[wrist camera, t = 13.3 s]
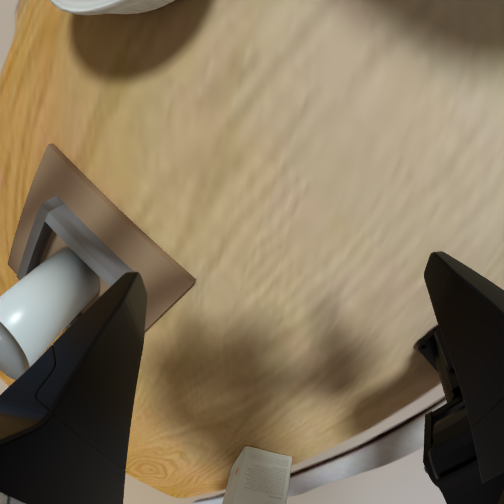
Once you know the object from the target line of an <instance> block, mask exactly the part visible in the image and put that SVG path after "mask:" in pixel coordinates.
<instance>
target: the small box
mask: <svg viewBox="0 0 504 504" xmlns="http://www.w3.org/2000/svg"><path fill="white" fill-rule="evenodd" d="M291 465H292V456H287V455H282V454H278V453H273V452H269V451H265V450H261V449H257V448H253V447H249V446H245V447H244V449H243V450H242V452H241V453H240V455H239V456H238V458H237V459H236V461H235V462H234V464H233V466H232V468H231V472H230V476H229V480H228V484H227V488H226V492H225V496H224V499H223V503H222V504H286V500H287V493H288V486H289V479H290V473H291Z"/></svg>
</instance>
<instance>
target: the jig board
mask: <svg viewBox="0 0 504 504" xmlns="http://www.w3.org/2000/svg"><path fill="white" fill-rule="evenodd" d="M65 246H69V247H70V248H71V249H72V250H73V251H74V252H75V253H76V254H77V255H78V256H79V257H80V258H81V259H82V260H83V261H84V262H85V263H86V264H87V265H88V266H89V267H90V268H91V269H92V270H93V271H94V272H95V273H96V274H97V275H98V276H99V278H100V289H99V291H98V293H97V294H96V296H95V297H94V298H93V299H92V300H91V301H90V302H89V303H88V304H87V305H86V306H85V307H84V308H83V309H82V310H81V311H80V312H79V313H78V315H77V316H76V317H75V318H74V319H73V320H72V321H71V322H70V323H69V324H68V325H67V326H66V328H67V329H68V328H69V327H70V326H71V325H72V324H73V323H74V322H75V321H76V320H77V319H78V318H79V317H80V316H81V315H82V314H83V313H84V312H85V311H86V310H87V309H88V308H89V307H90V306H91V305H92V304H93V303H94V302H95V301H96V300H97V299H98V298H99V297H100V296H101V295H102V294H103V293H104V292H105V291H106V290H108V289H109V288H110V287H111V286H112V285H113V284H114V283H115V282H116V281H117V280H118V279H119V278H120V277H121V276H122V275H123V274H125V273H126V272H136V271H137V272H139V273H140V274H141V277H142V280H143V283H144V285H145V288H146V291H147V309H146V321H145V331H146V330H147V329H148V328H149V327H150V326H151V325H152V324H153V323H154V322H155V321H156V320H157V319H158V318H159V317H160V316H161V315H162V314H163V313H164V312H165V311H166V310H167V309H168V308H169V307H170V306H171V305H172V304H173V303H174V302H175V301H176V300H177V299H178V298H179V297H180V296H181V295H182V294H183V293H184V292H186V291H187V290H188V289H189V288H190V287H191V286H192V285H193V284H194V282H195V281H196V279H195V278H194V277H193V276H191V275H190V274H189V273H188V272H187V271H186V270H185V269H184V268H182V267H181V266H180V265H179V264H178V263H177V262H176V261H175V260H173V259H172V258H171V257H170V256H169V255H168V254H167V253H166V252H165V251H163V250H162V249H161V248H160V247H159V246H158V245H157V244H156V243H155V242H154V241H152V240H151V239H150V238H149V237H148V236H147V235H146V234H145V233H144V232H143V231H142V230H141V229H140V228H138V227H137V226H136V225H135V224H134V223H133V222H132V221H131V220H130V219H129V218H128V217H127V216H126V215H125V214H124V213H123V212H121V211H120V210H119V209H118V208H117V207H116V206H115V205H114V204H113V203H112V202H111V201H110V200H109V199H108V198H107V197H106V196H105V195H104V194H103V193H102V192H101V191H100V190H99V189H98V188H97V187H96V186H95V185H94V184H93V183H92V182H91V181H90V180H89V179H88V178H87V177H86V176H85V175H84V174H83V173H82V172H81V171H80V170H79V169H78V168H77V167H76V166H75V165H74V164H73V163H72V162H71V161H70V160H69V159H68V158H67V157H66V156H65V155H64V154H63V153H62V152H61V151H60V150H59V149H58V148H57V147H56V146H55V145H54V144H53V143H52V144H49V145H48V146H47V149H46V151H45V153H44V155H43V158H42V160H41V162H40V165H39V167H38V170H37V172H36V175H35V177H34V180H33V183H32V185H31V188H30V191H29V194H28V196H27V199H26V202H25V205H24V208H23V211H22V214H21V217H20V220H19V224H18V227H17V230H16V234H15V237H14V241H13V245H12V248H11V252H10V256H9V260H8V265H9V266H10V268H11V269H12V270H13V271H14V272H15V273H16V274H17V278H18V279H19V280H21V279H22V278H24V277H25V276H26V275H27V274H29V273H30V272H31V271H32V270H34V269H35V268H36V267H37V266H39V265H40V264H41V263H43V262H44V261H45V260H46V259H48V258H49V257H50V256H52V255H53V254H54V253H56V252H57V251H58V250H60V249H61V248H63V247H65Z"/></svg>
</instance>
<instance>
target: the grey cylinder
mask: <svg viewBox="0 0 504 504" xmlns="http://www.w3.org/2000/svg"><path fill="white" fill-rule="evenodd" d="M99 289H100V278H99V276H98V275H97V274H96V273H95V272H94V271H93V270H92V269H91V268H90V267H89V266H88V265H87V264H86V263H85V262H84V261H83V260H82V259H81V258H80V257H79V256H78V255H77V254H76V253H75V252H74V251H73V250H72V249H71V248H70V247H69V246H65V247H63V248H61V249H60V250H58V251H57V252H56V253H54V254H53V255H52V256H50V257H49V258H48V259H46V260H45V261H44V262H43V263H41V264H40V265H39V266H37V267H36V268H35V269H34V270H32V271H31V272H30V273H29V274H27V275H26V276H25V277H24V278H22V279H21V280H20V281H19V282H17V283H16V284H15V285H14V286H13V287H11V288H10V289H9V290H8V291H7V292H5V293H4V294H3V295H2V296H1V297H0V370H1V371H2V372H3V373H5V374H6V375H7V376H9V377H10V378H12V379H14V380H17V379H18V378H19V377H20V376H21V375H22V374H23V373H24V372H25V371H26V370H28V369H29V368H30V367H31V366H32V365H33V364H34V363H35V362H36V360H37V359H38V358H39V357H40V356H41V355H42V353H43V352H44V351H45V350H46V349H47V348H48V347H49V345H50V344H51V343H52V342H53V341H54V340H55V339H56V338H57V336H58V335H59V334H60V333H61V332H62V331H63V330H64V329H65V328H66V326H67V325H68V324H69V323H70V322H71V321H72V320H73V319H74V318H75V317H76V316H77V315H78V313H79V312H80V311H81V310H82V309H83V308H84V307H85V306H86V305H87V304H88V303H89V302H90V301H91V300H92V299H93V298H94V297H95V296H96V294H97V293H98V291H99Z"/></svg>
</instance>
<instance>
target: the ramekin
mask: <svg viewBox="0 0 504 504" xmlns="http://www.w3.org/2000/svg"><path fill="white" fill-rule="evenodd" d="M50 1H51V2H52V4H54V5H55V6H56V7H57V8H59V9H61V10H63V11H65V12H69V13H73V14H78V15H99V14H105V13H111V14H138V13H143V12H148V11H151V10H155V9H157V8H160V7H163V6H165V5H167V4H169V3H171V2H173V1H175V0H50Z"/></svg>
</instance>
